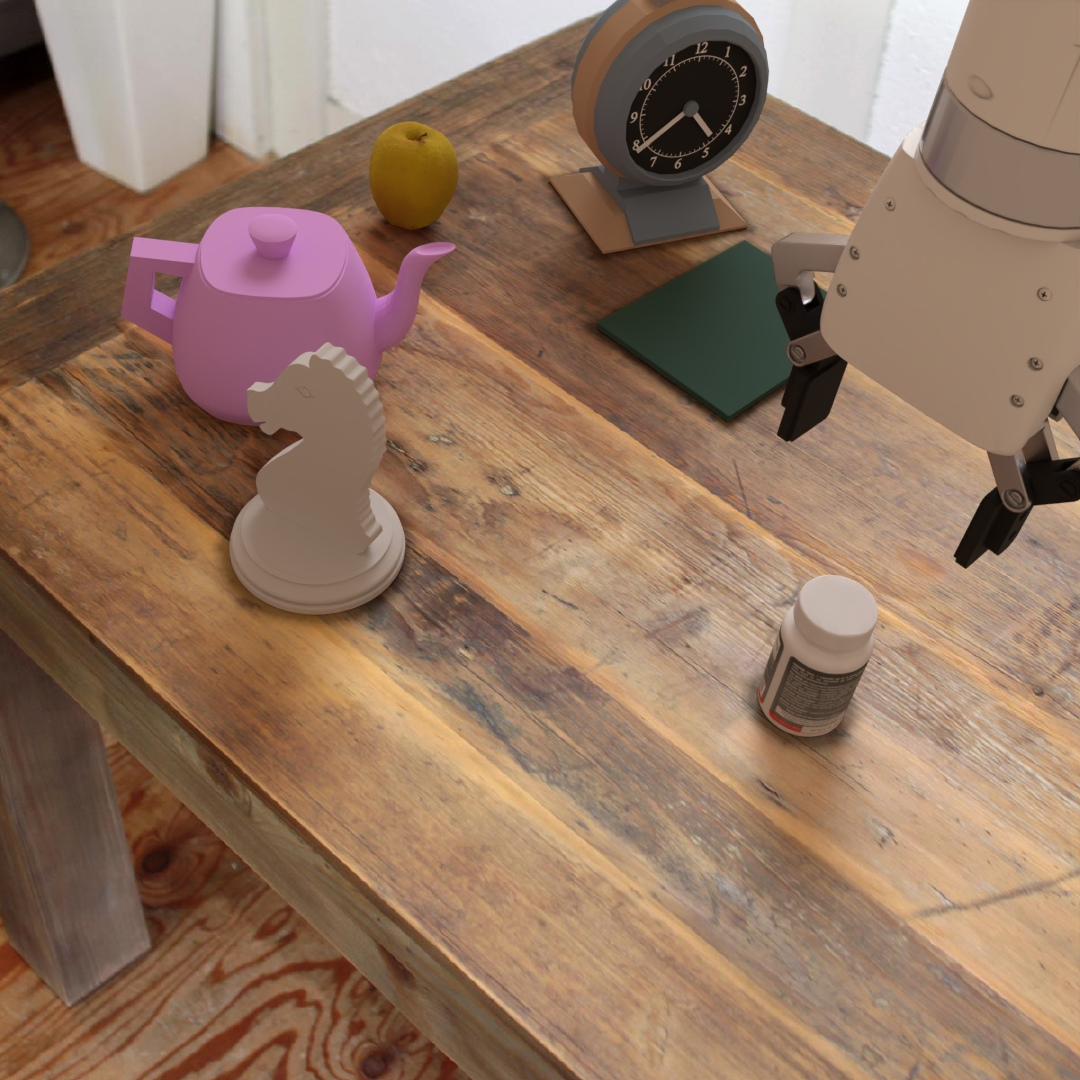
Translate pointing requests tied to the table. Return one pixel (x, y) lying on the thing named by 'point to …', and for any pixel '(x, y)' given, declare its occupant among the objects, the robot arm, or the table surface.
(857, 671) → the pill bottle
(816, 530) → the table surface
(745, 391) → the mat
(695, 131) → the alarm clock
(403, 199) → the apple
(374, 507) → the chess piece
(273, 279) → the teapot
